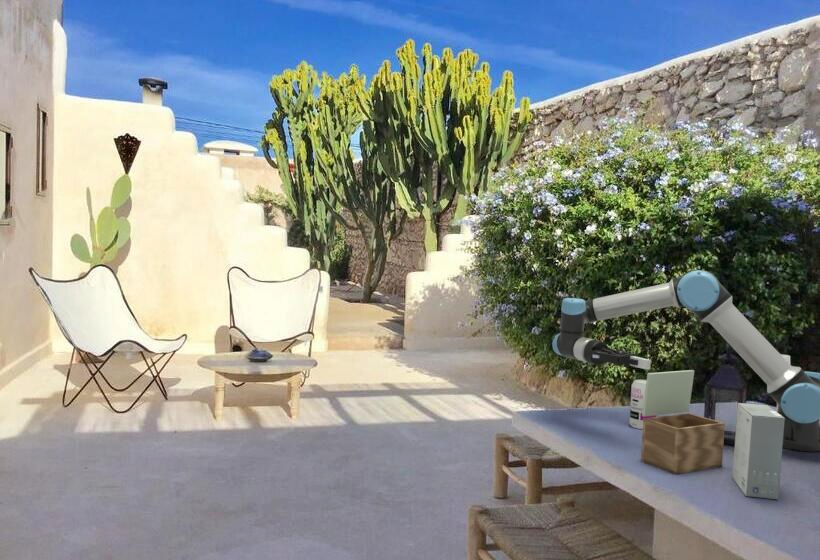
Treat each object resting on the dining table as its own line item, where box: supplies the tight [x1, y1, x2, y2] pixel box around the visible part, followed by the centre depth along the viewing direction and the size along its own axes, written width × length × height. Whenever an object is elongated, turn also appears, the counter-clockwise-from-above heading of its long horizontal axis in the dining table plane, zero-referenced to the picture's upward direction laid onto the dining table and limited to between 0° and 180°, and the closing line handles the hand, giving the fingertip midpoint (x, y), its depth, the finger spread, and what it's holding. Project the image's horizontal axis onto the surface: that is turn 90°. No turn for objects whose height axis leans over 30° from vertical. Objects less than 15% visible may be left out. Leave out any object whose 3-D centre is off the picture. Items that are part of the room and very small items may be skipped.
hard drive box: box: [732, 402, 785, 500], centre depth 186 cm, size 16×8×20 cm, turn 168°
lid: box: [642, 369, 695, 417], centre depth 208 cm, size 18×12×1 cm
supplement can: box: [629, 379, 657, 431], centre depth 244 cm, size 8×8×15 cm
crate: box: [640, 412, 726, 476], centre depth 204 cm, size 18×12×12 cm
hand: (648, 364), depth 215 cm, fingers closed
